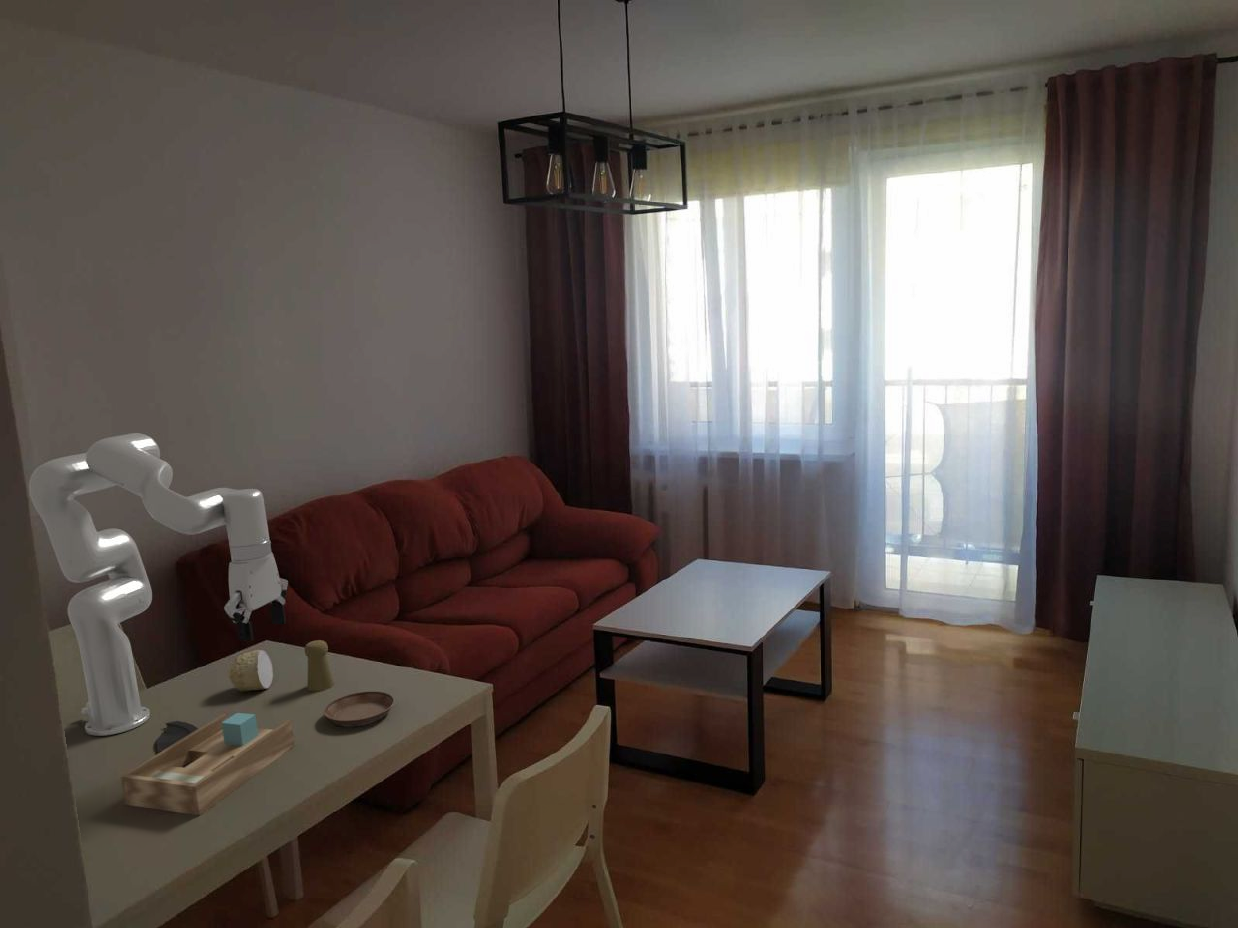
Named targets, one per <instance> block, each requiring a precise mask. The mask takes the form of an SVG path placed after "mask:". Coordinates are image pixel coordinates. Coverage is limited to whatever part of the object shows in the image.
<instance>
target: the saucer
mask: <svg viewBox="0 0 1238 928" xmlns="http://www.w3.org/2000/svg"><path fill="white" fill-rule="evenodd" d="M394 704H395V697H394V696H393V695H391V694H389V693H388V692H383V691H376V690H375V691H373V690H372V691H369V690H368V691H359V692H355V693H351V694H347V695H344V696H341V697H338V698H336V699H334V700H333V701H330V703H328V704H327V705H326V706H325V707H324V709H323V714H324V716H325V717H326V718H327V719H328V720H329V721H331V722H332V723H334V724H336V725H337V726H339V727H340V726H341V727H346V728H347V727H349V728H356V727H362V726H367V725H369V724H373V723H375V722H378V721H379V720H381V719H382V718H383V717H385V716H386V715H387V714H388V713H389V712H390V710H391V709H392V708H393V705H394Z"/></svg>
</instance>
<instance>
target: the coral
mask: <svg viewBox="0 0 1238 928" xmlns="http://www.w3.org/2000/svg"><path fill="white" fill-rule="evenodd" d="M227 671H228V672H227V675H228V678H229V681H230V682H231V683H232V685H233V687H234V688H235V689H236V690H238V692H251V691H260V690H268V689H270V687H271V685H272V682H273V678H274V671H273V664H272V661H271V659H270V656H269V655H268V653H267V652H266V651H264V650H263V649H255V650H252V651H249V652H245V653H241V654H240V655H238V656H237V657H236V658H235V659H234V661H233V662H232V664H231V665H230V667H229V668H228V670H227Z"/></svg>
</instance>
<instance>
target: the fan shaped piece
mask: <svg viewBox="0 0 1238 928" xmlns="http://www.w3.org/2000/svg"><path fill="white" fill-rule="evenodd" d="M164 724H165V725H166V728H164V730H163V731H162V733H161V735H160V736H158V738H157V739H156V751H157V754H158V753H160V752H162V751H163V750H165V749H167V748H168V747H170V746H171V745H173V744H175V743H176V742H178V741H180V740H181V739H183V738H184V737H186V736H188V735H189V734H191V733H193V732H194V731H196V730H197V729H199V727H197V726H195V725H193V724H191V723H188V722H185V721H180V720H174V721H168V722H165V723H164Z"/></svg>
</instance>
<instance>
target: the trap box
mask: <svg viewBox="0 0 1238 928" xmlns="http://www.w3.org/2000/svg"><path fill="white" fill-rule="evenodd" d="M228 718H229V715H228V713H221V714H220V715H218V716H217V717H215V718H213V719H212V720H211V721H208V722H207V723H206V724H204V725H202V726H201V727H198V729H197V730H196V731H194V732H193V733H191V734H189V735H188V736H186V737H184V738H183V739H181V740H180V741H178V742H176V743H175V744H173V745H171V746H170V747H168V748H167V749H165V750H163V751H162V752H160V753H158V752H157V754H155V755H154V756H152V757H150V758H149V759H147V760H145V761H143V762H142V763H141V764H139V765H138V766H136V767H133V768H132V769H131V770H129V771H127V772H126V773H124V774H122V775H121V776H120V782H121V787H122V793H123V799H124V804H125V805H127V806H132V807H140V808H147V809H153V810H160V811H167V812H174V813H180V814H181V813H182V814H186V815H187V814H188V815H195V816H201V815H203V814H204V813H205V812H207V811H208V810H209V809H211V808H212V807H214V806H215V805H216V804H217V803H219V802H220V801H222V800H223V799H224V798H226V797H227V796H229V795H230V794H231V793H232V792H234V791H235V790H237V789H238V788H239V787H241V786H243V785H244V784H245V783H246V782H248V781H249V780H251V779H252V778H253V777H254V776H255V775H258V773H259V772H262V770H264V769H266V768H267V767H269V766H270V765H271V764H272V763H273V762H275V761H276V760H278V759H279V758H280V757H282V756H283V755H284V754H286V753H287V752H288V751H289V750H291V749H292V748H293V747H295V744H296V742H295V737H294V736H295V735H294V729H293V721H292V720H290V719H287V720H285V721H284V722H282V723H280V724H279V725H278V726H277V727H275V728H274V729H268V728H260V727H257V728H258V736H257V737H255V738H254V739H253V740H251V741H250V742H248V743H247V744H245V745H244V746H239V745H230V744H225V743H224V737H223V730H222V722H223V721H225V720H227V719H228Z"/></svg>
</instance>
